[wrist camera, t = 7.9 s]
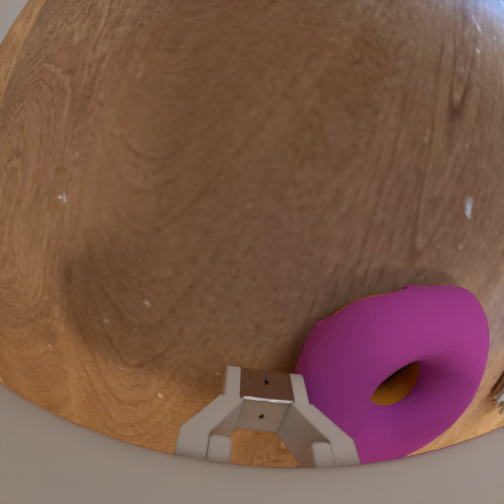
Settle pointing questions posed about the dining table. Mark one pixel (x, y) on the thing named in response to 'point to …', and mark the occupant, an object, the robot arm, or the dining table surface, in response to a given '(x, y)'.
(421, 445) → the donut
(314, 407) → the robot arm
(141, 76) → the dining table surface
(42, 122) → the dining table surface
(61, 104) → the dining table surface
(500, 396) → the letter pile
